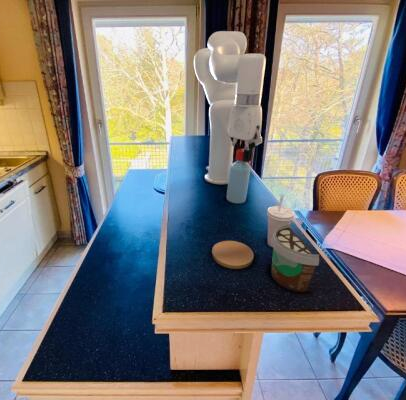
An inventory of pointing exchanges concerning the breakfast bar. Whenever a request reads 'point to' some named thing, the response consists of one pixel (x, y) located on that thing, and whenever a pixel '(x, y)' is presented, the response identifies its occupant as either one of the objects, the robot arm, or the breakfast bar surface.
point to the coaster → (232, 254)
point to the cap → (240, 154)
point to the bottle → (238, 182)
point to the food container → (292, 260)
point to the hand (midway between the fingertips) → (241, 159)
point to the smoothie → (278, 218)
